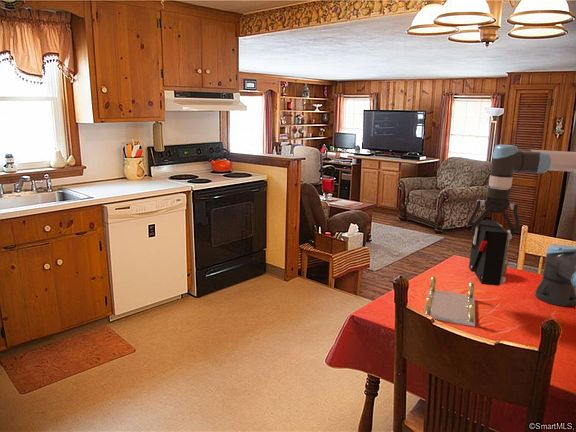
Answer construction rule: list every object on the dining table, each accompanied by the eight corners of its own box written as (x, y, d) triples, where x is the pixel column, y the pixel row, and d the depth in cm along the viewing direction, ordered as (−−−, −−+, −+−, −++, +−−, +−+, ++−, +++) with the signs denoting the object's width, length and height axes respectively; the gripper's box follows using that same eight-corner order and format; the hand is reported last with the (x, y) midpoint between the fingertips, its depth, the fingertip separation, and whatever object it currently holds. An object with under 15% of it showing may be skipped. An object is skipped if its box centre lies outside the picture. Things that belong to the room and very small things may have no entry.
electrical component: (505, 286, 162) (514, 233, 158) (476, 283, 164) (483, 230, 159) (493, 270, 179) (501, 221, 174) (467, 267, 181) (473, 219, 176)
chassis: (473, 299, 186) (475, 282, 184) (474, 326, 162) (477, 307, 160) (428, 292, 192) (430, 275, 190) (422, 317, 168) (424, 298, 167)
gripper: (533, 189, 163) (522, 247, 168) (465, 183, 171) (457, 238, 176) (536, 192, 156) (525, 253, 162) (465, 185, 164) (457, 243, 169)
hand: (490, 245), depth 169 cm, fingers closed on electrical component, 10 cm apart
